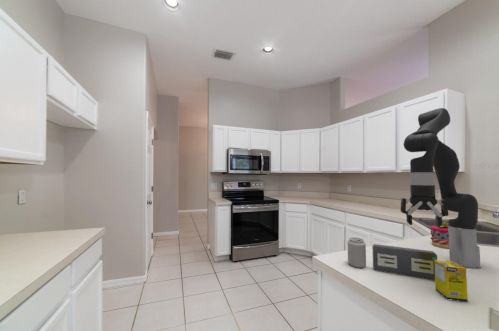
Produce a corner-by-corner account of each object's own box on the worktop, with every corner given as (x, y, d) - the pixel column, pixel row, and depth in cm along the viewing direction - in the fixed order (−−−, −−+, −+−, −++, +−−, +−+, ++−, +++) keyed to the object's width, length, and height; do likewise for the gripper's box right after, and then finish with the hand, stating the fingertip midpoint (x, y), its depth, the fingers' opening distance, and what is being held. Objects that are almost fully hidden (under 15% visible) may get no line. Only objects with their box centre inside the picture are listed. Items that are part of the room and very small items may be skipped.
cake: (427, 244, 124) (426, 219, 124) (436, 242, 128) (435, 218, 129) (450, 250, 114) (448, 223, 115) (458, 247, 118) (457, 221, 119)
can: (365, 270, 90) (365, 242, 90) (347, 266, 94) (346, 239, 94) (366, 264, 96) (365, 238, 97) (348, 260, 100) (348, 235, 101)
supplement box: (468, 302, 67) (466, 268, 68) (447, 299, 68) (445, 266, 69) (454, 292, 73) (453, 261, 73) (435, 290, 74) (433, 259, 75)
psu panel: (435, 277, 83) (434, 251, 84) (439, 281, 80) (437, 254, 81) (372, 267, 93) (372, 243, 93) (374, 270, 89) (373, 245, 90)
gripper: (441, 184, 81) (443, 225, 80) (398, 183, 87) (399, 221, 86) (450, 184, 74) (452, 229, 73) (402, 184, 80) (404, 225, 79)
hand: (423, 225), depth 80 cm, fingers open, 8 cm apart
